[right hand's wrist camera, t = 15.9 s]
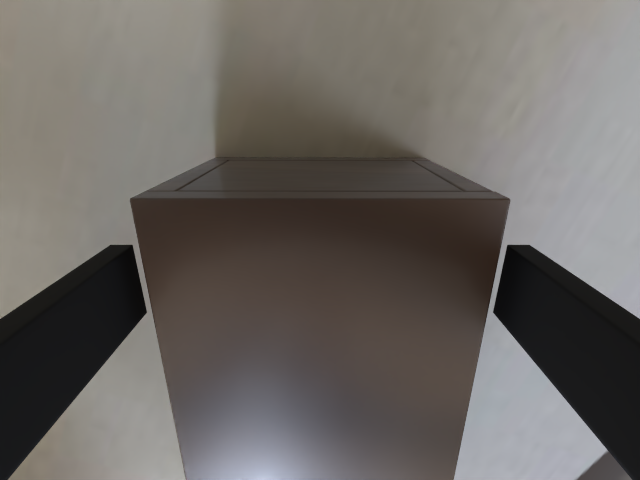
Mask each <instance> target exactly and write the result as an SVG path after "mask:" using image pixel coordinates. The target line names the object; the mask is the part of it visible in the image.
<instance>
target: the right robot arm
mask: <svg viewBox="0 0 640 480" xmlns="http://www.w3.org/2000/svg"><path fill="white" fill-rule="evenodd" d="M146 313H147V311H146V306H145V301H144V297H143V292H142V287H141V283H140V278H139V273H138V269H137V264H136V259H135V254H134V250H133V245H110V246H108V247H107V248H105V249H104V250H102V251H101V252H99V253H98V254H96V255H95V256H93V257H92V258H90V259H89V260H87V261H86V262H85V263H83V264H82V265H80V266H79V267H77V268H76V269H74V270H73V271H71V272H70V273H68V274H67V275H65V276H64V277H62V278H61V279H59V280H58V281H56V282H55V283H53V284H52V285H50V286H49V287H47V288H46V289H44V290H43V291H41V292H40V293H38V294H37V295H35V296H34V297H32V298H31V299H29V300H28V301H26V302H25V303H23V304H22V305H21V306H19V307H18V308H16V309H15V310H13V311H12V312H10V313H9V314H7V315H6V316H4V317H3V318H1V319H0V480H8V479H9V477H10V476H11V475H12V474H13V473H14V471H15V470H16V469H17V468H18V467H19V465H20V464H21V463H22V462H23V461H24V459H25V458H26V457H27V456H28V455H29V453H30V452H31V451H32V450H33V449H34V447H35V446H36V445H37V444H38V443H39V441H40V440H41V439H42V438H43V436H44V435H45V434H46V433H47V432H48V430H49V429H50V428H51V427H52V426H53V424H54V423H55V422H56V421H57V420H58V418H59V417H60V416H61V415H62V414H63V412H64V411H65V410H66V409H67V408H68V406H69V405H70V404H71V403H72V402H73V400H74V399H75V398H76V397H77V396H78V394H79V393H80V392H81V391H82V390H83V388H84V387H85V386H86V385H87V384H88V382H89V381H90V380H91V379H92V378H93V376H94V375H95V374H96V373H97V372H98V370H99V369H100V368H101V367H102V366H103V364H104V363H105V362H106V361H107V360H108V358H109V357H110V356H111V355H112V354H113V352H114V351H115V350H116V349H117V348H118V346H119V345H120V344H121V343H122V342H123V340H124V339H125V338H126V337H127V336H128V334H129V333H130V332H131V331H132V330H133V328H134V327H135V326H136V325H137V324H138V322H139V321H140V320H141V319H142V318H143V316H144V315H145V314H146ZM493 313H494V314H495V315H496V316H497V318H498V319H499V320H500V321H501V322H502V324H503V325H504V326H505V327H506V328H507V330H508V331H509V332H510V333H511V334H512V336H513V337H514V338H515V339H516V340H517V342H518V343H519V344H520V345H521V346H522V348H523V349H524V350H525V351H526V352H527V354H528V355H529V356H530V357H531V358H532V360H533V361H534V362H535V363H536V364H537V366H538V367H539V368H540V369H541V370H542V372H543V373H544V374H545V375H546V376H547V378H548V379H549V380H550V381H551V382H552V384H553V385H554V386H555V387H556V388H557V390H558V391H559V392H560V393H561V394H562V396H563V397H564V398H565V399H566V400H567V402H568V403H569V404H570V405H571V406H572V408H573V409H574V410H575V411H576V412H577V414H578V415H579V416H580V417H581V418H582V420H583V421H584V422H585V423H586V424H587V426H588V427H589V428H590V429H591V430H592V432H593V433H594V434H595V435H596V436H597V438H598V439H599V440H600V441H601V443H602V444H603V445H604V446H605V447H606V449H607V450H608V451H609V452H610V453H611V454H612V456H613V457H614V458H615V459H616V460H617V462H618V463H619V464H620V465H621V467H622V468H623V469H624V470H625V471H626V473H627V474H628V475H629V476H630V477H631V479H632V480H640V319H639V318H637V317H636V316H634V315H633V314H631V313H630V312H628V311H627V310H625V309H624V308H622V307H621V306H619V305H618V304H617V303H615V302H614V301H612V300H611V299H609V298H608V297H606V296H605V295H603V294H602V293H600V292H599V291H597V290H596V289H594V288H593V287H591V286H590V285H588V284H587V283H585V282H584V281H582V280H581V279H579V278H578V277H576V276H575V275H573V274H572V273H570V272H569V271H567V270H566V269H564V268H563V267H561V266H560V265H558V264H557V263H555V262H554V261H553V260H551V259H550V258H548V257H547V256H545V255H544V254H542V253H541V252H539V251H538V250H536V249H535V248H533V247H532V246H530V245H507V250H506V254H505V259H504V264H503V269H502V273H501V278H500V283H499V287H498V292H497V297H496V301H495V306H494V311H493Z"/></svg>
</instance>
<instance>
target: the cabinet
mask: <svg viewBox="0 0 640 480" xmlns="http://www.w3.org/2000/svg"><path fill="white" fill-rule="evenodd" d="M130 203H131V208H132V213H133V218H134V223H135V228H136V233H137V238H138V243H139V248H140V253H141V258H142V263H143V268H144V273H145V278H146V283H147V288H148V293H149V298H150V302H151V307H152V312H153V317H154V322H155V327H156V332H157V337H158V342H159V347H160V352H161V357H162V362H163V367H164V372H165V377H166V382H167V387H168V392H169V397H170V402H171V407H172V412H173V417H174V422H175V427H176V432H177V437H178V442H179V447H180V452H181V457H182V462H183V467H184V472H185V477H186V480H454V475H455V470H456V465H457V460H458V455H459V450H460V445H461V440H462V435H463V431H464V426H465V421H466V416H467V411H468V406H469V401H470V396H471V391H472V386H473V381H474V376H475V371H476V367H477V362H478V357H479V352H480V347H481V342H482V337H483V332H484V327H485V322H486V317H487V312H488V307H489V303H490V298H491V293H492V288H493V283H494V278H495V273H496V268H497V263H498V258H499V253H500V248H501V244H502V239H503V234H504V229H505V224H506V219H507V214H508V209H509V204H510V199H509V198H507V197H505V196H503V195H501V194H499V193H497V192H493V191H491V190H489V189H487V188H485V187H483V186H481V185H479V184H477V183H475V182H473V181H471V180H469V179H467V178H464V177H462V176H460V175H458V174H456V173H454V172H452V171H450V170H448V169H446V168H444V167H442V166H440V165H438V164H436V163H434V162H432V161H430V160H428V159H426V158H214V159H212V160H209V161H207V162H205V163H203V164H201V165H199V166H197V167H195V168H193V169H191V170H189V171H186V172H184V173H182V174H180V175H178V176H176V177H174V178H172V179H170V180H168V181H166V182H164V183H162V184H160V185H158V186H155V187H153V188H151V189H149V190H147V191H145V192H143V193H141V194H139V195H137V196H135V197H132V198H130Z"/></svg>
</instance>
